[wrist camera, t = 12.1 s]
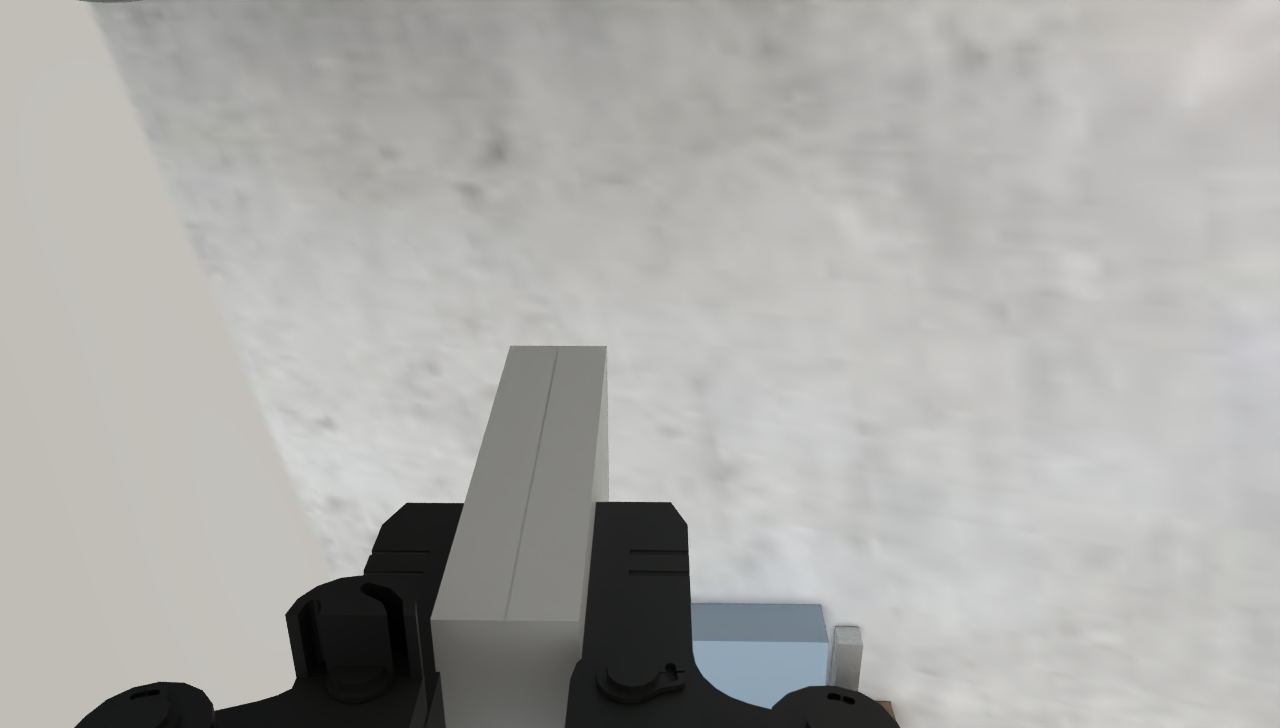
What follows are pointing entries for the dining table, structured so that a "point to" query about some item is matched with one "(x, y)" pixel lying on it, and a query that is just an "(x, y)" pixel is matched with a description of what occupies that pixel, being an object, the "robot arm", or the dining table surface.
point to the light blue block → (760, 649)
